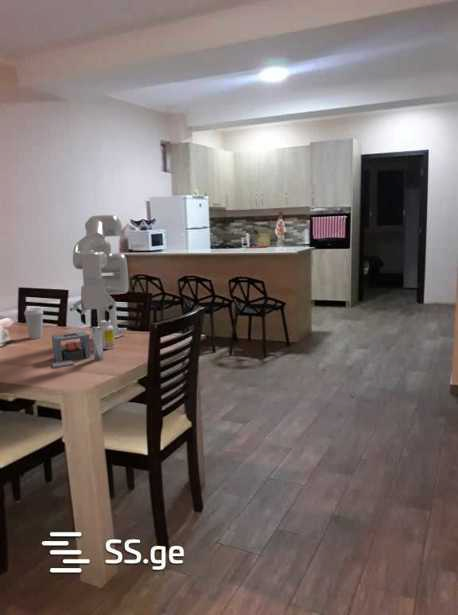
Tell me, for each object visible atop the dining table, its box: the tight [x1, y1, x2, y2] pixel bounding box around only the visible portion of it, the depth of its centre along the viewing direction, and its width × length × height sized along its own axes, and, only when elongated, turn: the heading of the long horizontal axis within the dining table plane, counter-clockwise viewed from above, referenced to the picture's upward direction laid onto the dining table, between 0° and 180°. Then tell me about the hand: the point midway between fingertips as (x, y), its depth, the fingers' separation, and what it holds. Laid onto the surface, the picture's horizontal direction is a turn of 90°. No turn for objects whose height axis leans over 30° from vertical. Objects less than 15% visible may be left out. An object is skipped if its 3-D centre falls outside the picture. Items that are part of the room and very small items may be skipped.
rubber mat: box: [50, 360, 75, 369], centre depth 208 cm, size 8×6×1 cm
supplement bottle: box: [100, 320, 115, 350], centre depth 234 cm, size 7×7×13 cm
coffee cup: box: [23, 307, 44, 340], centre depth 262 cm, size 10×10×15 cm
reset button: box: [64, 341, 78, 351], centre depth 219 cm, size 5×5×3 cm
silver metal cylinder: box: [91, 325, 104, 362], centre depth 214 cm, size 4×4×14 cm
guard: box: [51, 330, 92, 362], centre depth 219 cm, size 14×9×10 cm, turn 119°
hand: (95, 322), depth 212 cm, fingers open, 9 cm apart
